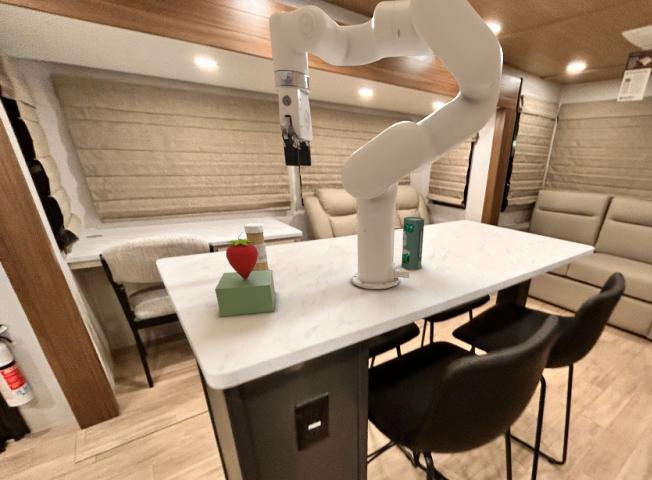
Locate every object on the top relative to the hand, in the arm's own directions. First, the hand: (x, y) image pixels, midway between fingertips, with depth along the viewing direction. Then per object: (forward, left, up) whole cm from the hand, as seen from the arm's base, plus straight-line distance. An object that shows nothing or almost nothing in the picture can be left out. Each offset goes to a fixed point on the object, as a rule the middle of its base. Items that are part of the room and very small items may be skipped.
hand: (299, 165), depth 78 cm
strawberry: (+6, +23, -22) cm, 33 cm away
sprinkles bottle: (+13, +2, -28) cm, 31 cm away
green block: (+6, +23, -28) cm, 37 cm away
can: (-30, -10, -28) cm, 43 cm away
